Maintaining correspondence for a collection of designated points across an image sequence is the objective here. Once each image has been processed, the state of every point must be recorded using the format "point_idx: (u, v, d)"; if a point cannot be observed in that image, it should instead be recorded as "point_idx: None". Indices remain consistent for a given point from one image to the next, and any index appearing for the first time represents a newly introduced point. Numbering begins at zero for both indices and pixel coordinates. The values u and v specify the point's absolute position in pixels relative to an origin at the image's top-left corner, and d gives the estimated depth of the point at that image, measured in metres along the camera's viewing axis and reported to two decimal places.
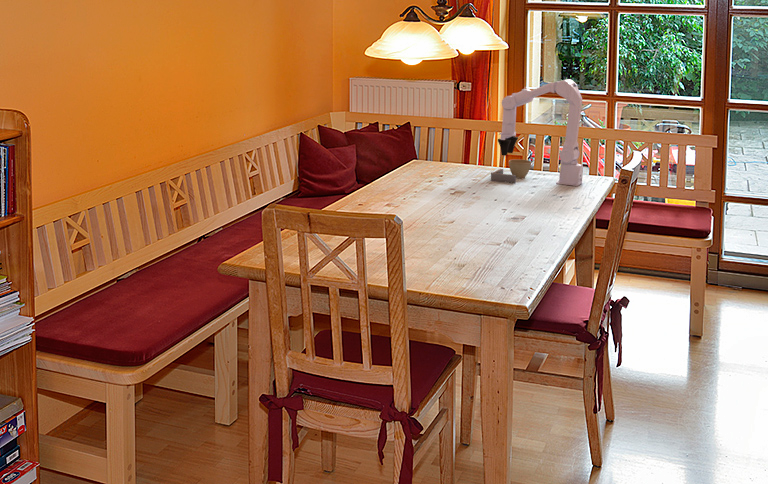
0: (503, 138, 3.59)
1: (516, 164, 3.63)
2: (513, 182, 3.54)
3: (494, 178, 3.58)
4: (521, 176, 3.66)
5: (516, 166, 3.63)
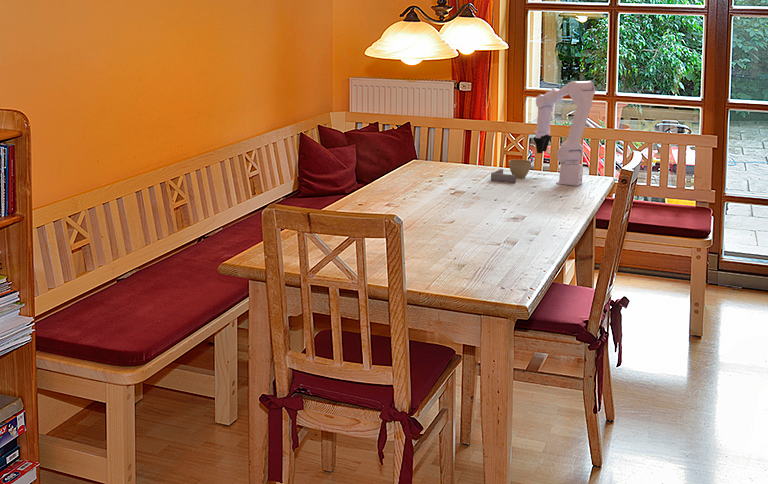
0: (538, 136, 3.63)
1: (516, 164, 3.63)
2: (513, 182, 3.54)
3: (494, 178, 3.58)
4: (521, 176, 3.66)
5: (516, 166, 3.63)
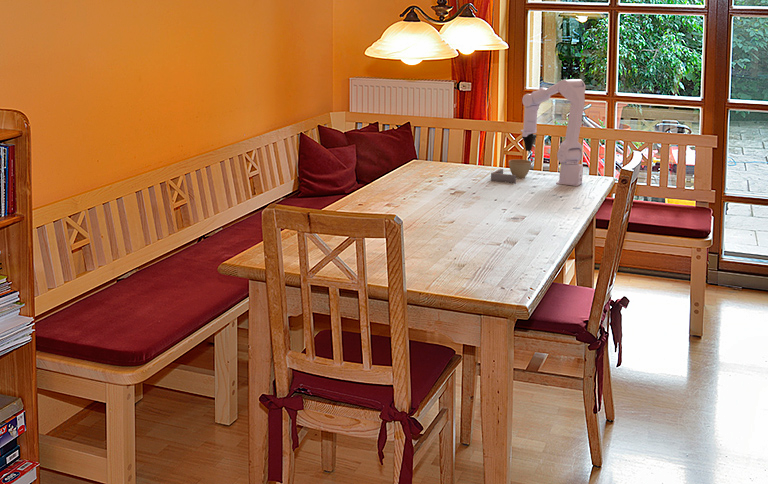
0: (524, 135, 3.67)
1: (516, 164, 3.63)
2: (513, 182, 3.54)
3: (494, 178, 3.58)
4: (521, 176, 3.66)
5: (516, 166, 3.63)
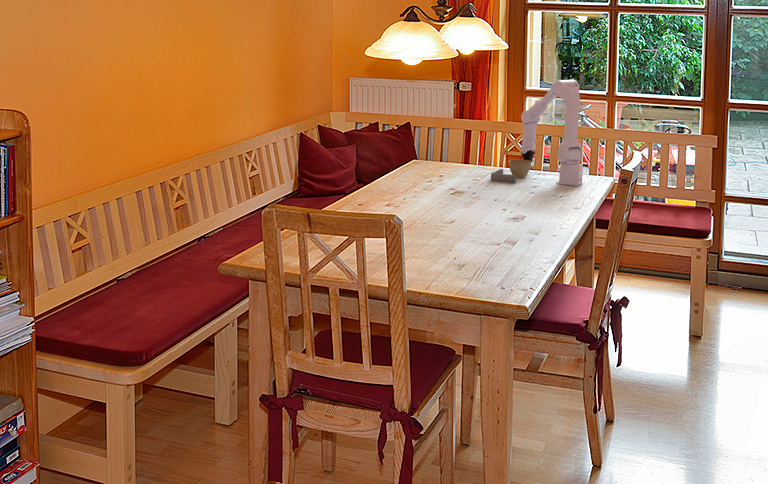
0: (523, 152, 3.69)
1: (516, 164, 3.63)
2: (513, 182, 3.54)
3: (494, 178, 3.58)
4: (521, 176, 3.66)
5: (516, 166, 3.63)
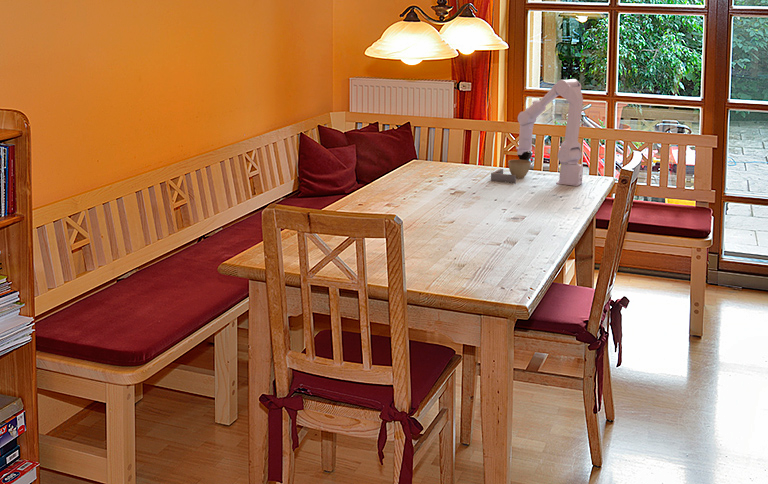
0: (519, 153, 3.65)
1: (516, 164, 3.62)
2: (513, 182, 3.54)
3: (494, 178, 3.58)
4: (521, 176, 3.65)
5: (516, 166, 3.62)
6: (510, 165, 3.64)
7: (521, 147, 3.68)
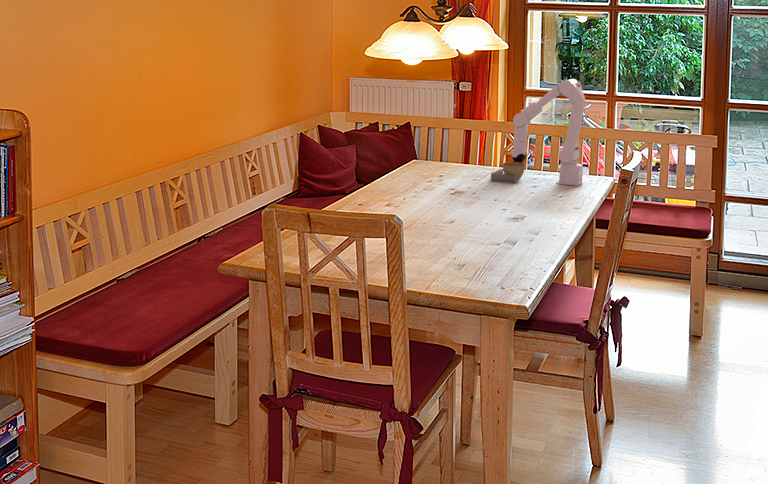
0: (514, 156, 3.59)
1: (510, 167, 3.56)
2: (513, 182, 3.54)
3: (494, 178, 3.58)
4: None
5: (510, 169, 3.56)
6: (504, 168, 3.58)
7: (516, 149, 3.62)
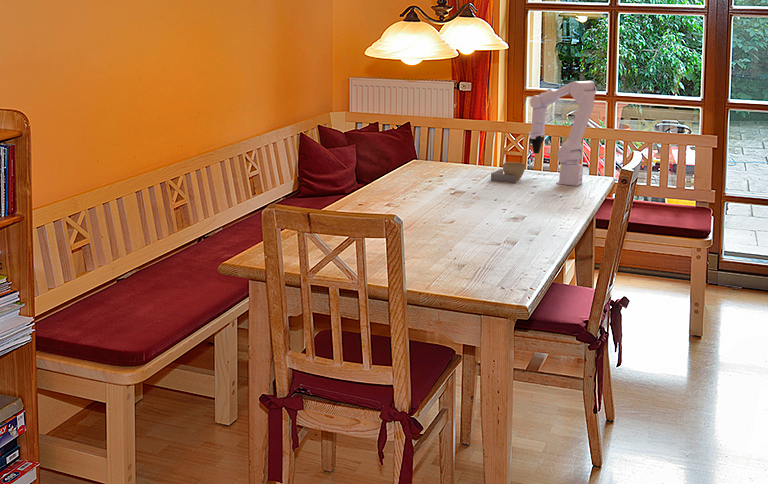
0: (532, 137, 3.62)
1: (510, 167, 3.56)
2: (513, 182, 3.54)
3: (494, 178, 3.58)
4: None
5: (510, 169, 3.56)
6: (505, 168, 3.58)
7: (534, 131, 3.65)
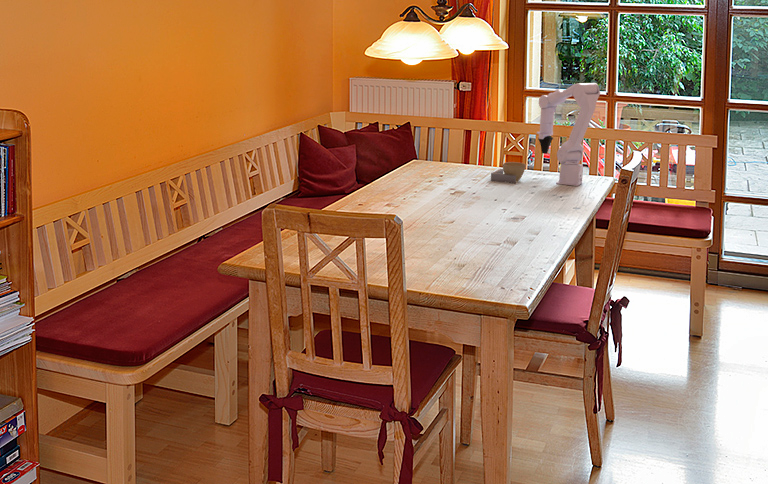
0: (541, 137, 3.61)
1: (510, 167, 3.56)
2: (513, 182, 3.54)
3: (494, 178, 3.58)
4: None
5: (510, 169, 3.56)
6: (505, 168, 3.58)
7: (542, 131, 3.64)
